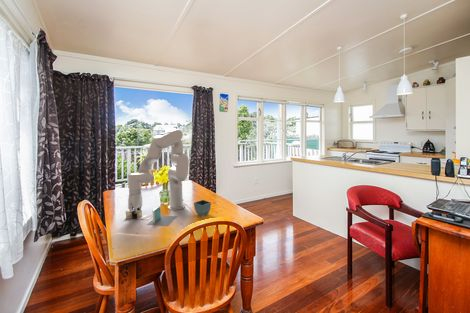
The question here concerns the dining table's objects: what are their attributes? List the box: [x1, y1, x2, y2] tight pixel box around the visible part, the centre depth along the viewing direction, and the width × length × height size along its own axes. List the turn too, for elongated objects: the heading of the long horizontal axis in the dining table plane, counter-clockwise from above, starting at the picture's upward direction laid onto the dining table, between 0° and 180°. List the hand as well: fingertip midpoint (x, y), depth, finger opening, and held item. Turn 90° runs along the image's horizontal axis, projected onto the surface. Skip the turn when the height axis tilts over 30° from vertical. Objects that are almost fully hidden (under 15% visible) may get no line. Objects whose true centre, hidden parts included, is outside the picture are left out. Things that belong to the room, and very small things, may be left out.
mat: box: [146, 214, 178, 227], centre depth 147 cm, size 16×14×1 cm
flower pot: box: [193, 199, 212, 217], centre depth 157 cm, size 9×9×9 cm
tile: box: [152, 205, 162, 223], centre depth 147 cm, size 8×1×8 cm, turn 173°
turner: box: [125, 209, 153, 221], centre depth 152 cm, size 17×7×5 cm, turn 83°
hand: (136, 217), depth 153 cm, fingers open, 4 cm apart
